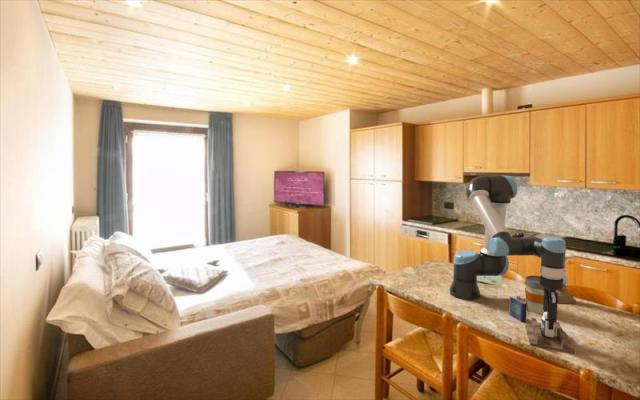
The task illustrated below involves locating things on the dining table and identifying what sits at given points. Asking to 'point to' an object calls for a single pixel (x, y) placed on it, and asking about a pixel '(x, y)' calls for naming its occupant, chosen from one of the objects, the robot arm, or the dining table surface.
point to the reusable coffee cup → (534, 294)
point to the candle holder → (562, 293)
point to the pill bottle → (543, 327)
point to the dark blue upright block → (517, 308)
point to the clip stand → (549, 338)
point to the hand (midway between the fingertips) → (548, 332)
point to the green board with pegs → (490, 279)
